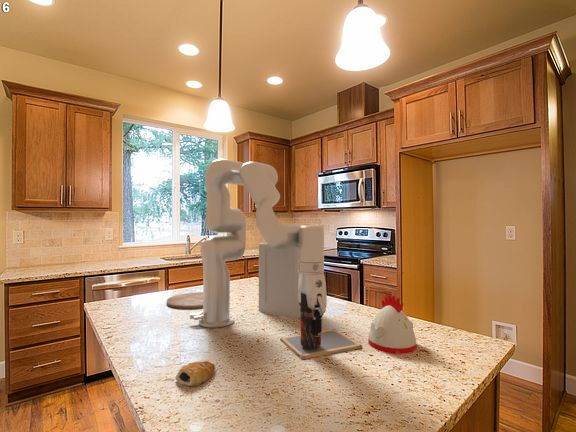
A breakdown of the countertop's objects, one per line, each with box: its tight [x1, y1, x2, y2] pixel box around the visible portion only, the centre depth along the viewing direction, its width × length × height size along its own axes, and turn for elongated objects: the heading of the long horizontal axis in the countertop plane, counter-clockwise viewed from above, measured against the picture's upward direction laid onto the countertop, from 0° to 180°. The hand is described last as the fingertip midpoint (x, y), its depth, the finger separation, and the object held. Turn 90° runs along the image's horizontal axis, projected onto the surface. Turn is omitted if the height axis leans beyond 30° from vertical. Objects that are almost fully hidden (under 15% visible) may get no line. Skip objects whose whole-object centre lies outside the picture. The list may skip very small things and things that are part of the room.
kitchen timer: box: [368, 294, 417, 355], centre depth 98 cm, size 14×14×15 cm
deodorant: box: [300, 292, 321, 348], centre depth 93 cm, size 6×6×15 cm
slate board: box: [280, 328, 363, 360], centre depth 98 cm, size 20×15×1 cm
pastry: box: [175, 360, 216, 387], centre depth 77 cm, size 9×7×4 cm
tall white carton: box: [258, 242, 301, 320], centre depth 134 cm, size 19×15×28 cm
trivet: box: [166, 291, 203, 310], centre depth 148 cm, size 25×25×2 cm
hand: (310, 328), depth 93 cm, fingers closed on deodorant, 5 cm apart
